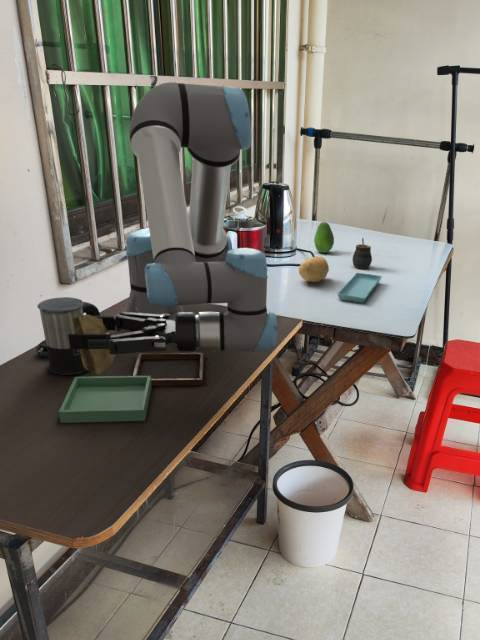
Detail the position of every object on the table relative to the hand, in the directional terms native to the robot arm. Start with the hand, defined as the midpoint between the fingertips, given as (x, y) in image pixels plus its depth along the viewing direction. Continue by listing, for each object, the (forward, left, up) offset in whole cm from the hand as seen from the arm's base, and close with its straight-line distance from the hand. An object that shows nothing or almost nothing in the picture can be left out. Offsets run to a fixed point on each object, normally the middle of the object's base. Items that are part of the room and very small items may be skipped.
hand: (74, 331), depth 110 cm
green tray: (0, +4, -15) cm, 16 cm away
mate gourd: (-107, +80, -15) cm, 135 cm away
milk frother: (-21, -9, -15) cm, 27 cm away
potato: (-88, +59, -15) cm, 107 cm away
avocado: (-128, +69, -15) cm, 146 cm away
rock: (0, +5, -6) cm, 8 cm away
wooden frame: (-15, +15, -15) cm, 26 cm away
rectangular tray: (-77, +73, -15) cm, 107 cm away
